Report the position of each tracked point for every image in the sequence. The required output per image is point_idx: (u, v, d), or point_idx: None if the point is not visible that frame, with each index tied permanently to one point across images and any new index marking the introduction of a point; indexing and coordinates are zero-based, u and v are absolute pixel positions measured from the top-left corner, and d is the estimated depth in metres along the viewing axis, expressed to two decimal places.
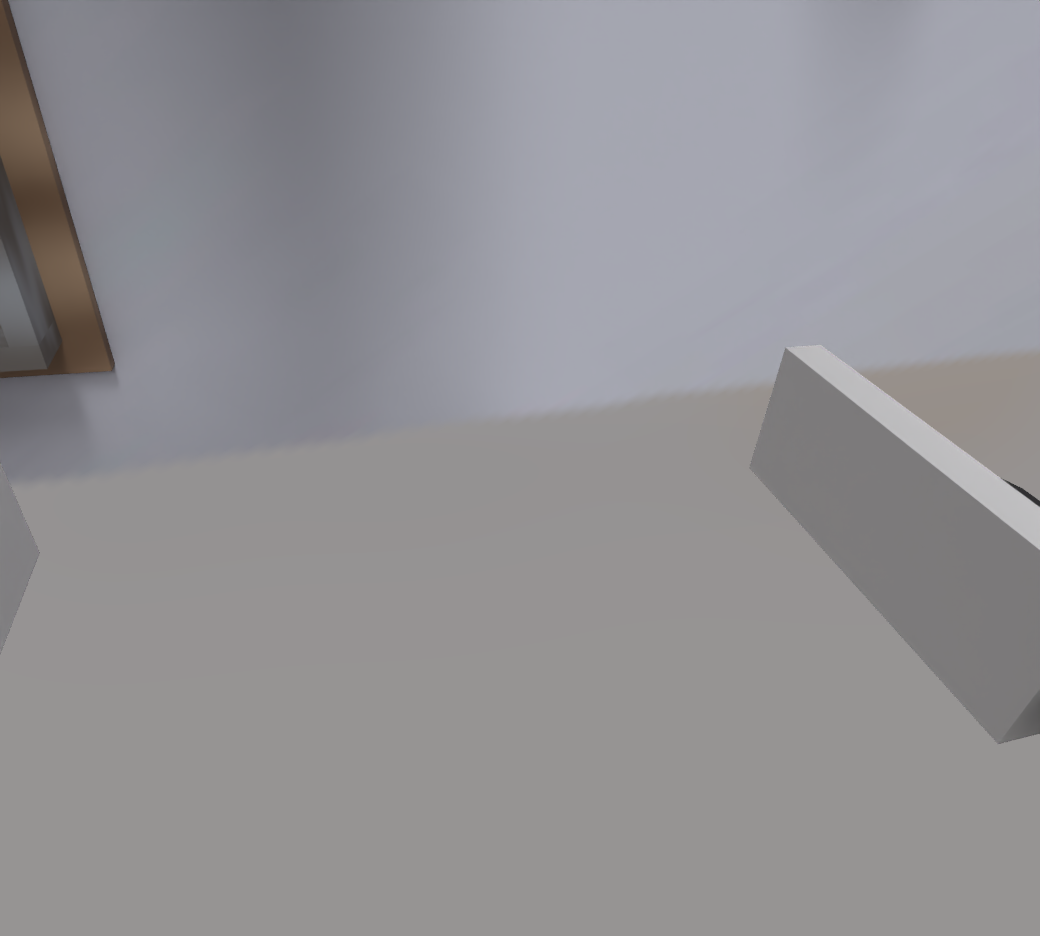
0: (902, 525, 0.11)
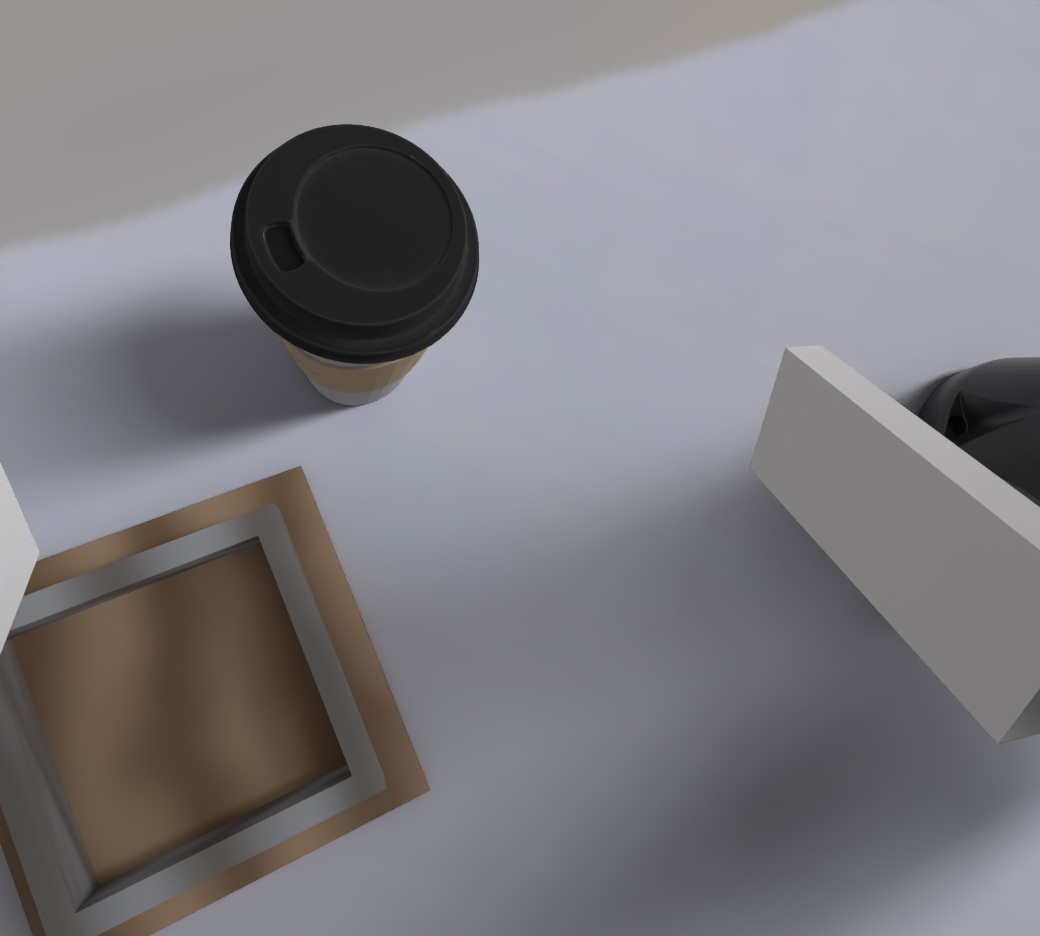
0: (902, 525, 0.11)
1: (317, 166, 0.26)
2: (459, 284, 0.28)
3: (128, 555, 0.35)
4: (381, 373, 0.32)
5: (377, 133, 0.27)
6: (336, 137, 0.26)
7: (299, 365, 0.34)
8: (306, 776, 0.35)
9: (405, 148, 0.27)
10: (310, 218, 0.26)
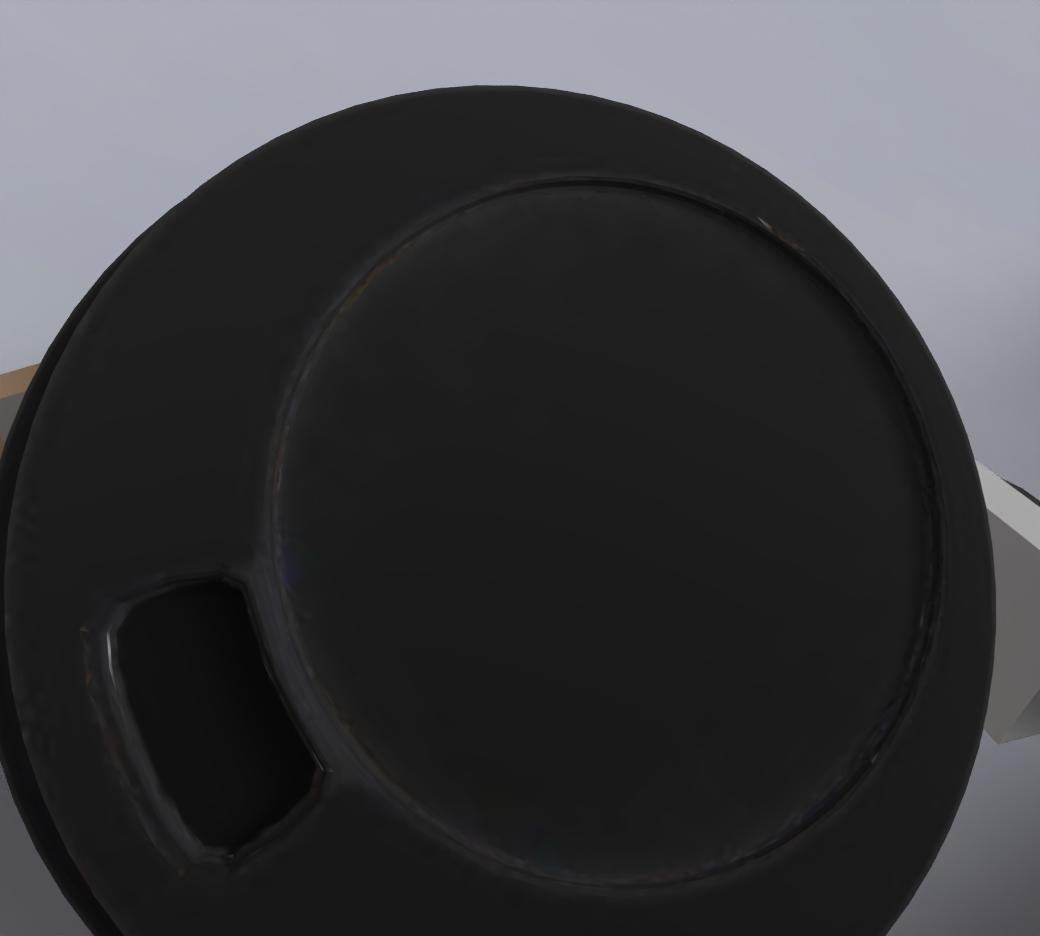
0: None
1: (377, 275, 0.06)
2: None
3: None
4: None
5: (625, 125, 0.06)
6: (460, 142, 0.06)
7: None
8: None
9: (736, 187, 0.06)
10: (349, 537, 0.05)
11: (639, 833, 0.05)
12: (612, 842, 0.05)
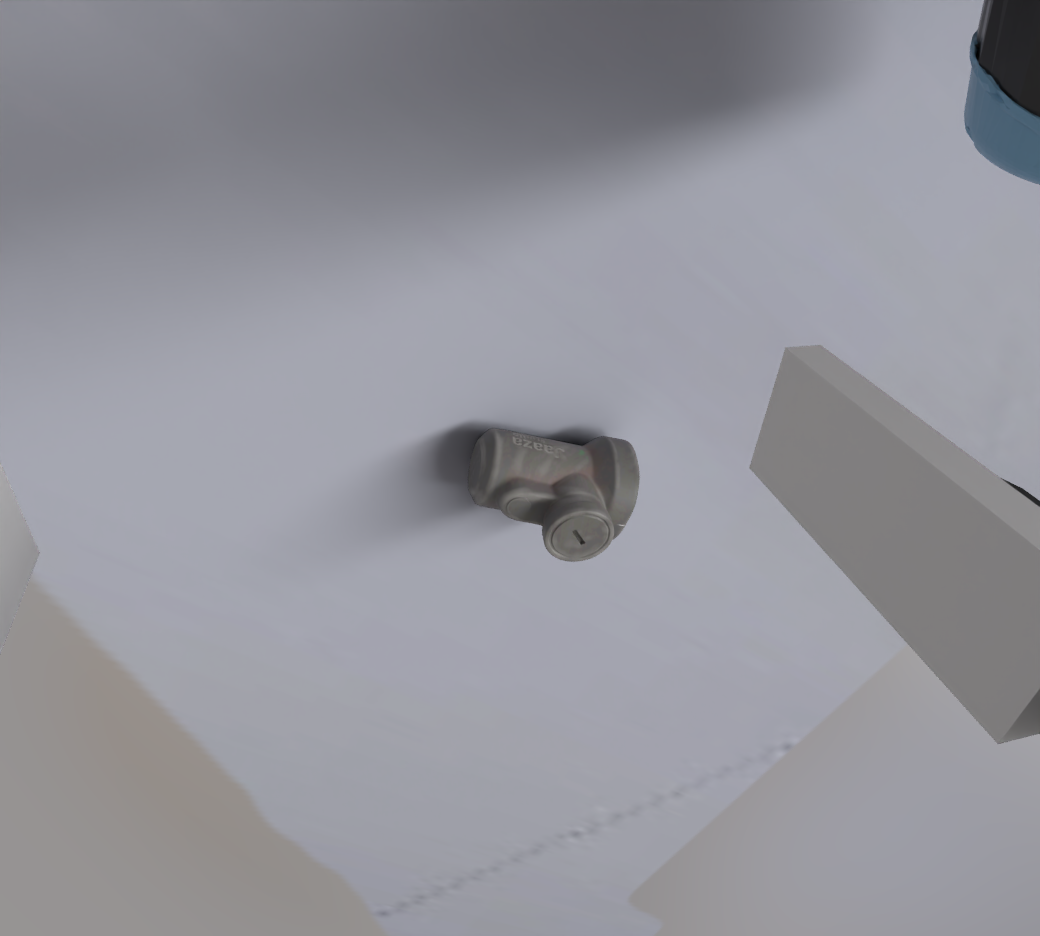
0: (902, 525, 0.11)
1: None
2: None
3: None
4: None
5: None
6: None
7: None
8: None
9: None
10: None
11: None
12: None
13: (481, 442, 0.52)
